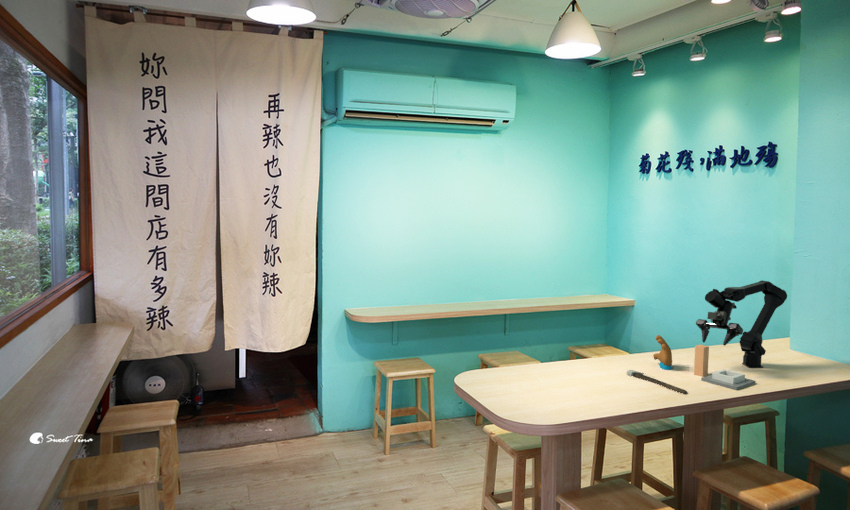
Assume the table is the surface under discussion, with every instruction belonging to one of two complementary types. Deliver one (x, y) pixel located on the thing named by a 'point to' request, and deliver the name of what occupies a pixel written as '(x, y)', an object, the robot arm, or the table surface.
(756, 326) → the robot arm
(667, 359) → the toy
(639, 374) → the axe
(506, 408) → the table surface
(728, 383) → the housing
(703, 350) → the tan square peg
